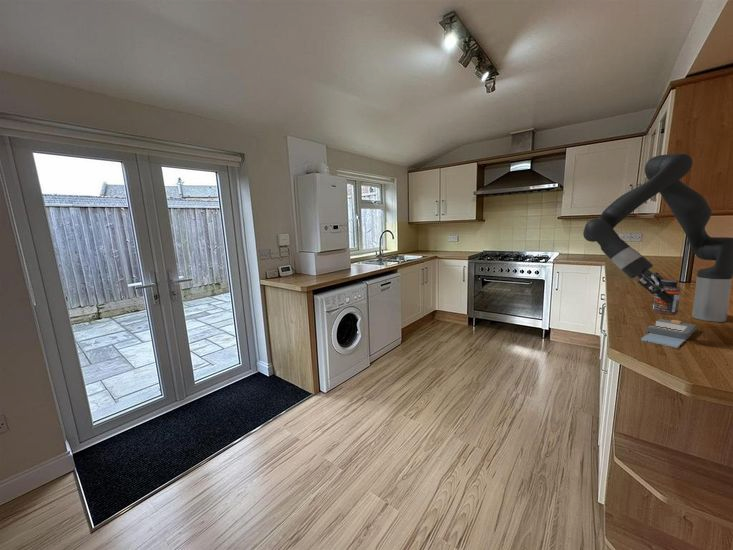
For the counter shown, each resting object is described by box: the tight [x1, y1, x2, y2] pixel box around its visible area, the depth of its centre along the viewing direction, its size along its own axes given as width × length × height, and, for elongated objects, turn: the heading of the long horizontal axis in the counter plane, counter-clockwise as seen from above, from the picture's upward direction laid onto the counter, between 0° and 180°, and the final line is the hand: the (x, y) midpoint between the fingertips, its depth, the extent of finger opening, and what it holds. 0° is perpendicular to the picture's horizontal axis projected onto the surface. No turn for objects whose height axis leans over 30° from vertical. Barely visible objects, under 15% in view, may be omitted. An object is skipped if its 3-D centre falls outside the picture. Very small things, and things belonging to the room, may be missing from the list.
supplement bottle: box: [652, 279, 681, 316], centre depth 99 cm, size 6×6×11 cm
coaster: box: [640, 333, 686, 349], centre depth 101 cm, size 9×9×1 cm
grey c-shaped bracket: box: [646, 318, 697, 341], centre depth 110 cm, size 19×10×3 cm, turn 123°
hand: (673, 300), depth 98 cm, fingers closed on supplement bottle, 6 cm apart
